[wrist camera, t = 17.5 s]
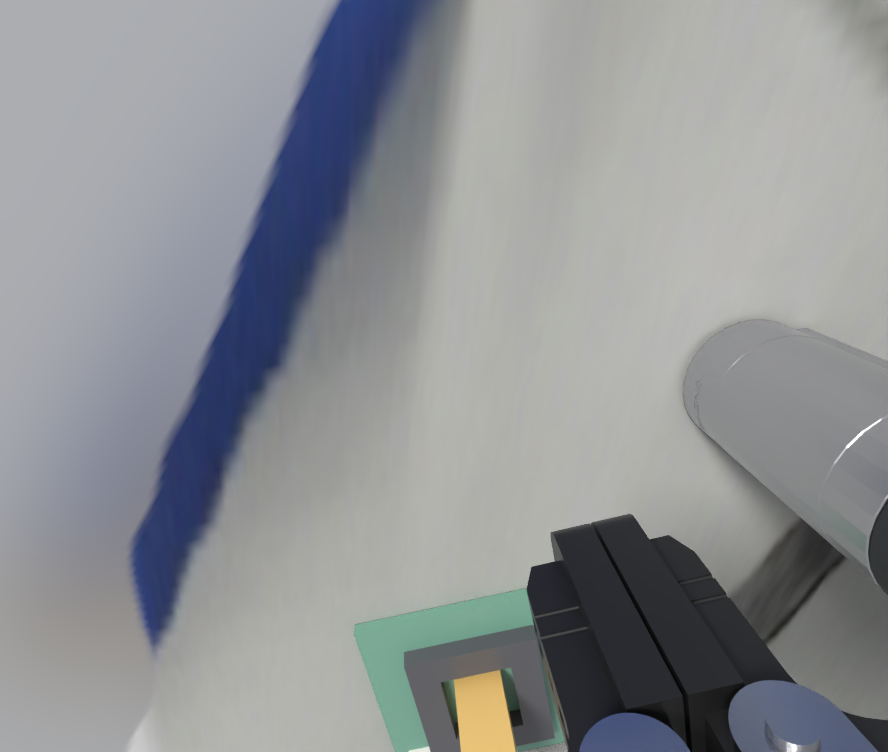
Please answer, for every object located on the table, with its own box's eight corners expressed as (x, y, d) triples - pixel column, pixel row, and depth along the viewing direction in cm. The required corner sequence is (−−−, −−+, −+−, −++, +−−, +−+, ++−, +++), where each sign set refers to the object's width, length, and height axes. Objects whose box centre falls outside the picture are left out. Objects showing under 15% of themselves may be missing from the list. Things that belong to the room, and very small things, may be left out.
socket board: (565, 579, 46) (574, 602, 44) (588, 726, 53) (596, 752, 50) (354, 624, 46) (352, 649, 44) (403, 765, 53) (403, 793, 51)
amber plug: (498, 663, 48) (516, 756, 40) (507, 703, 49) (526, 799, 42) (453, 673, 48) (462, 767, 40) (464, 713, 50) (475, 810, 42)
